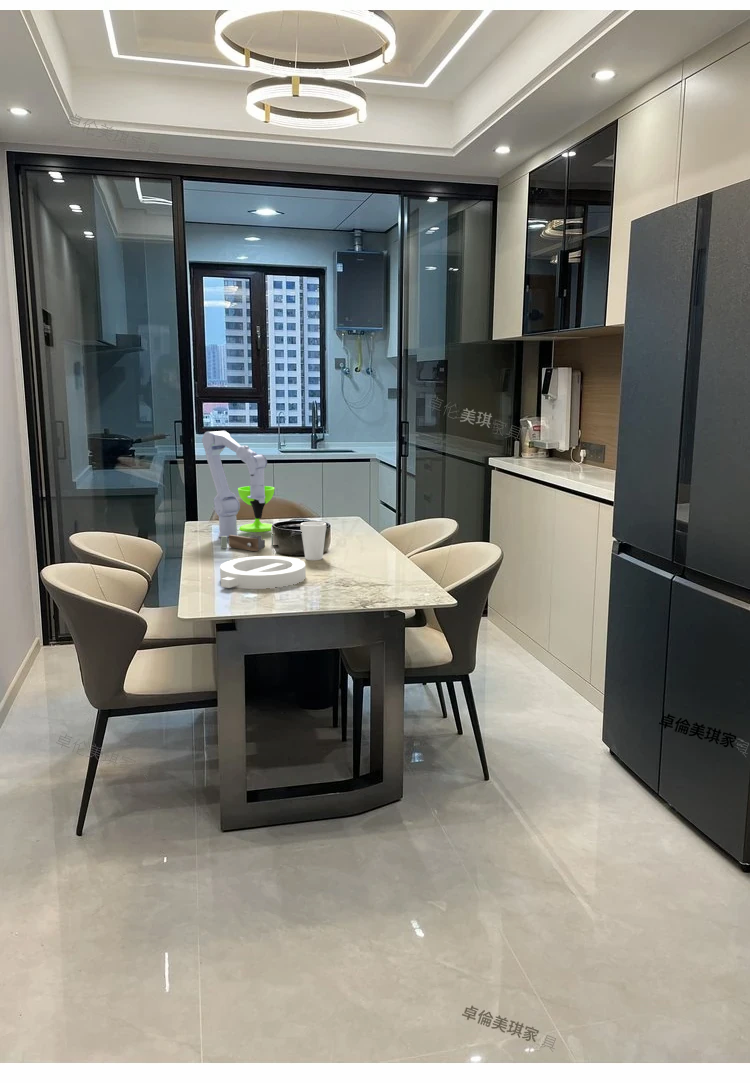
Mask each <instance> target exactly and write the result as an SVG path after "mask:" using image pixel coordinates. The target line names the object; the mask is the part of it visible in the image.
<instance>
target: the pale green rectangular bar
mask: <svg viewBox="0 0 750 1083" xmlns="http://www.w3.org/2000/svg"><path fill="white" fill-rule="evenodd" d="M272 534H273V533H271V535H270V536H271V537H270V538H271V546H272V547H274V546H273V535H272ZM220 544H221V545H220V547H221V549H227V548H228V537H227V536H221V537H220Z"/></svg>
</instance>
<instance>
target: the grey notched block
mask: <svg viewBox="0 0 750 1083" xmlns="http://www.w3.org/2000/svg"><path fill="white" fill-rule="evenodd" d="M249 537H250V538H257V539H258V551H260V550H261V549H263V548H264V547H265V546H266V544H265V542H266V540H265V539H263V538H262V535H258V534H257V535H255V534H252V535H249Z"/></svg>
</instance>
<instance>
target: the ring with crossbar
mask: <svg viewBox="0 0 750 1083" xmlns="http://www.w3.org/2000/svg"><path fill="white" fill-rule="evenodd" d="M219 572H220V573H219V574H220V576H219V577H220V586H221V587H222V588H227V589H231V588H236V589H237V588H238V589H244V590H245V589H247V590H248V589H249V590H267V589H266V588H270V589H276V588H275V587H280V588H284V587H283V586H286V587H289V586H288V585H291V586H294V585H298V584H300V583H302V582H303V581H304V579H305V580H306V577H307V576H306V563H305V561H303V560H302V558H297V557H291V556H289V557H288V556H280V555H257V556H254V555H253V556H245V557H239V558H234V559H231V560H227V561H224V562H222V563H221V564H220V566H219ZM299 582H300V583H299ZM297 583H298V584H297ZM293 584H294V585H293Z"/></svg>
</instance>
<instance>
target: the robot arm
mask: <svg viewBox="0 0 750 1083" xmlns="http://www.w3.org/2000/svg"><path fill="white" fill-rule="evenodd" d="M201 442H202V446H203V448H204V452H205V457H206V460H207V464H208V467H209V470H210V474H211V477H212V481H213V484H214V487H215V492H216V495H215V496H214V498H213V499H212V500H213V504H214V508H213V509H214V512H215V513H216V515H217V516H218V525H219V526H218V529H219V532H218V538H221V536H227V538H229V535H237V536H239V534H238V530H237V529H238V528H237V527H238V526H237V515H238V513H239V511H240V509H241V503H240V500H238V498H237V495H236V493H234V492H232V491H231V490H230V486H229V482H228V479H227V476H226V474H225V469H224V466H223V464H222V459H221V456H220V455H221V453H222V452H223V451H224V450H225V449H226V448H228V449H229V450H231V451H233V452H234V453H235V455H236V457H237V458H238V459H239V460H241V461H242V462H243V463H245V464H246V467H247V469H248V474H249V486H250V496H248V498H251V499H254V501H250V503H251V505H252V506H251V505H250V506H251V507H252V510H253V514H254V519H255V518H256V519H259V520H260V519H262V515H263V511H264V508H265V506H266V504H265V503H266V502H265V487H264V486H265V469H266V467H267V466H268V460H267V457H266V456H265V455H264V454H261V453H260V454H259V453H257V452H256V451H254V450H252V449H250V446H248V445H241V444H240V443H238V441H236V440H235V439H234V438H232V437H231V434H230V433H229V432H227V431H226V430H218V431H217V430H216V431H215V430H214V431H205V432H204V433H203V436H202V438H201Z"/></svg>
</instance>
